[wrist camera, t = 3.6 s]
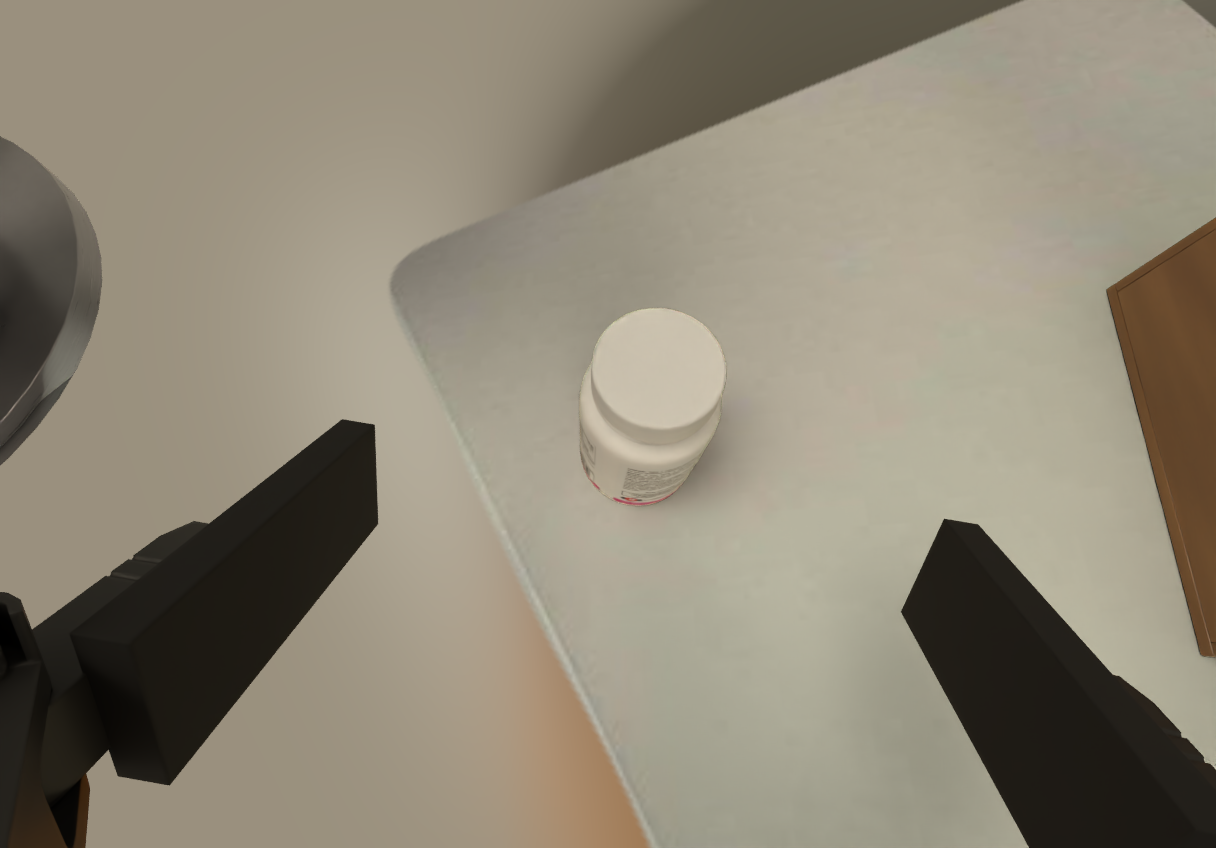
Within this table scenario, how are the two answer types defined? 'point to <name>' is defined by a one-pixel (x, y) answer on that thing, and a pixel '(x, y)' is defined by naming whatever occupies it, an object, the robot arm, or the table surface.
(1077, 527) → the table surface
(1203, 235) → the carton
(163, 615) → the robot arm
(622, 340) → the pill bottle
